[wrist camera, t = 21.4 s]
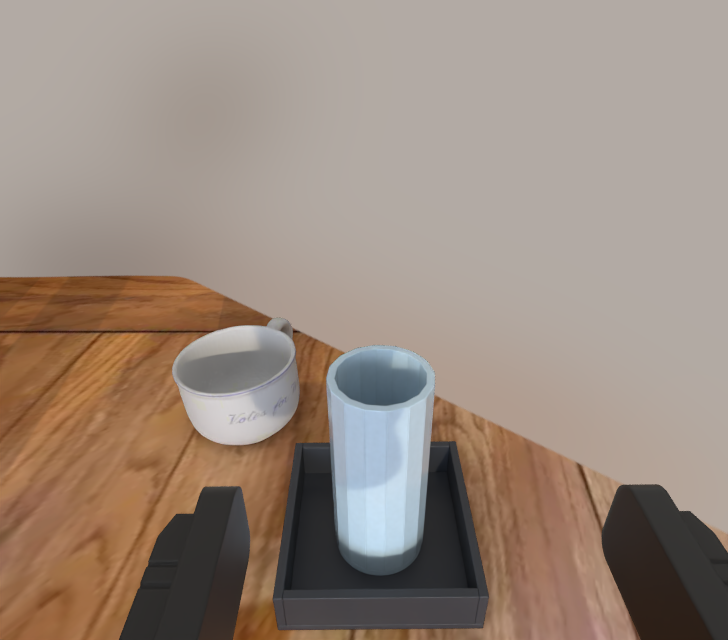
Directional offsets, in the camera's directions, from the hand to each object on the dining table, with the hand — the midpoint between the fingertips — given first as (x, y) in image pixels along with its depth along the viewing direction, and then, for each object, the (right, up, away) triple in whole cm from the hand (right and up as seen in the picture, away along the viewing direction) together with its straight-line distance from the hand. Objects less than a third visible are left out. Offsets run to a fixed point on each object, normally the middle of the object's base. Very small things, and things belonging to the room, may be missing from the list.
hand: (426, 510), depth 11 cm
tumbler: (0, -12, +28) cm, 30 cm away
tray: (0, -12, +28) cm, 31 cm away
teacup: (-12, -5, +40) cm, 42 cm away
